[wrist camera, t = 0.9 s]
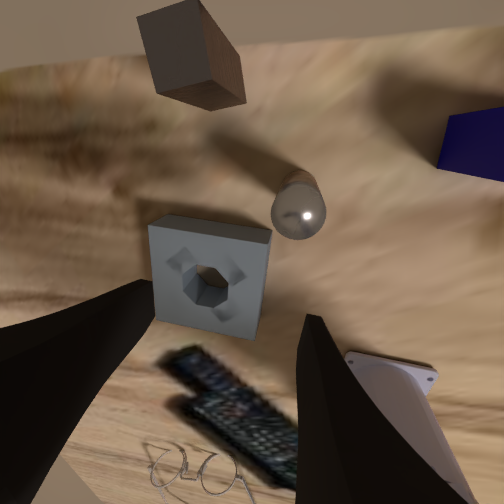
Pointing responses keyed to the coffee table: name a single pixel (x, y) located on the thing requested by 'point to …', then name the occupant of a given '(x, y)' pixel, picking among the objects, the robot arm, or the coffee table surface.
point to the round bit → (298, 207)
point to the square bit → (192, 57)
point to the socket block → (216, 256)
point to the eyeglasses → (200, 473)
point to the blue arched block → (475, 144)
